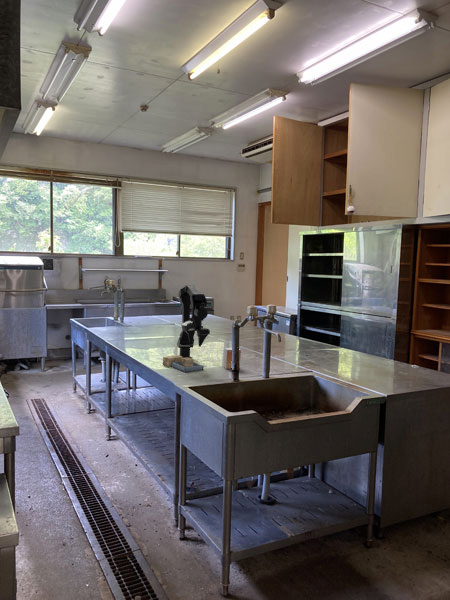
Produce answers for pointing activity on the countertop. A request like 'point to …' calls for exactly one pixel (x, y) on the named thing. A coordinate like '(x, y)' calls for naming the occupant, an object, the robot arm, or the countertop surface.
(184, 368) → the tray
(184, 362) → the oak cube
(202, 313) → the robot arm
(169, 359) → the oak cube
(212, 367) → the countertop surface
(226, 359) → the small box
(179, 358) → the oak cube
